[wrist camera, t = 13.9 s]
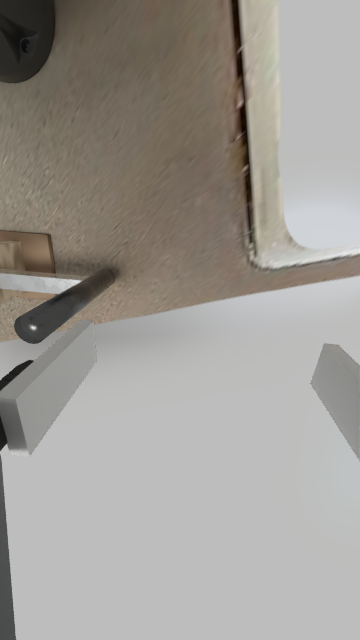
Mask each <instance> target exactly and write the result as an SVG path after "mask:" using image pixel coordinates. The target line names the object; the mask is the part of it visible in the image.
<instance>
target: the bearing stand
mask: <svg viewBox="0 0 360 640" xmlns="http://www.w3.org/2000/svg"><path fill="white" fill-rule="evenodd" d="M0 269H9V270H20V271H31V272H42V273H53V274H55V266H54V259H53V251H52V244H51V236H50V234H38V233H26V232H14V231H2V230H0ZM57 295H58V294H52V293H41V292H31V291H20V290H9V289H0V304H2V303H4V302H6V301H8V300H11V299H13V298H15V297H22V298H32V299H43V300H50V299H51V298H53V297H55V296H57Z"/></svg>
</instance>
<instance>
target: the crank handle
mask: <svg viewBox="0 0 360 640" xmlns="http://www.w3.org/2000/svg"><path fill="white" fill-rule="evenodd" d="M114 281H115V276H114V274H113V272H112V271H110V270H109V269H102V270H100V271H98V272H97V273H95V274H93V275H91V276H90V277H86V276H75V275H64V274H53V273H42V272H31V271H20V270H9V269H0V289H9V290H20V291H31V292H41V293H52V294H58V295H57V296H55V297H53V298H51V299H50V300H48V301H46V302H44V303H43V304H41V305H39V306H37V307H36V308H34V309H32V310H30V311H29V312H27V313H25V314H23V315H22V316H20V317H18V318H17V319H16V321H15V324H14V328H15V331H16V333H17V335H18V336H19V337H20V338H21V339H22V340H24V341H26V342H28V343H32V344H36V343H39V342H41V341H42V340H44V339H45V338H46V337H47V336H49V335H50V334H51V333H52V332H54V331H55V330H56V329H57V328H59V327H60V326H61V325H62V324H64V323H65V322H66V321H67V320H69V319H70V318H71V317H72V316H74V315H75V314H76V313H77V312H78V311H80V310H81V309H82V308H83V307H85V306H86V305H87V304H88V303H90V302H91V301H92V300H93V299H95V298H96V297H97V296H98V295H100V294H101V293H102V292H103V291H105V290H106V289H107V288H108V287H110V286H111V285H112V284H113V283H114Z"/></svg>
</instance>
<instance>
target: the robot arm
mask: <svg viewBox="0 0 360 640" xmlns="http://www.w3.org/2000/svg"><path fill="white" fill-rule="evenodd" d="M53 34H54V8H53V1H52V0H0V81H2V82H8V83H15V82H21V81H24V80H26V79H28V78H30V77H31V76H33V75H34V74H35V73H36V72H37V71H38V70H39V69H40V68H41V67H42V65H43V64H44V62H45V60H46V58H47V56H48V54H49V51H50V48H51V45H52V40H53ZM95 363H96V346H95V333H94V321H89V320H80V321H79V322H78V323H76V324H75V325H74V326H73V327H72V328H71V329H70V330H69V331H67V332H66V333H65V334H64V335H63V336H62V337H61V338H60V339H59V340H57V341H56V342H55V343H54V344H53V345H52V346H51V347H49V348H48V349H47V350H46V351H45V352H44V353H43V354H42V355H40V356H39V357H38V358H37V359H36V360H35V361H33V360H28V361H26V362H24V363H22V364H20V365H18V366H16V367H15V368H14V369H13V370H12V371H10V372H9V374H7V375H6V376H4V377H3V378H2V380H0V451H1V449H2V448H3V447H4V446H5V445H6V444H7V445H8V448H9V451H10V454H14V455H23V456H30V455H31V454H32V452H33V451H34V449H35V448H36V447H37V445H38V444H39V442H40V441H41V440H42V438H43V437H44V435H45V434H46V432H47V431H48V429H49V428H50V427H51V425H52V424H53V422H54V421H55V420H56V418H57V417H58V415H59V414H60V412H61V411H62V410H63V408H64V407H65V405H66V404H67V403H68V401H69V400H70V398H71V397H72V395H73V394H74V393H75V391H76V390H77V388H78V387H79V385H80V384H81V383H82V381H83V380H84V378H85V377H86V375H87V374H88V373H89V371H90V370H91V368H92V367H93V366H94V364H95ZM311 385H312V387H313V389H314V390H315V391H316V393H317V395H318V396H319V398H320V399H321V401H322V403H323V404H324V406H325V407H326V409H327V410H328V412H329V414H330V415H331V417H332V418H333V420H334V421H335V423H336V425H337V426H338V428H339V429H340V431H341V432H342V434H343V436H344V437H345V439H346V440H347V442H348V443H349V445H350V447H351V448H352V450H353V451H354V453H355V454H356V456H357V457H358V459H359V461H360V365H359V364H358V363H356V362H355V361H354V360H353V359H352V358H351V357H350V356H349V355H348V354H347V353H346V352H345V351H344V350H343V349H342V348H341V347H340V346H339V345H334V344H324V346H323V349H322V351H321V354H320V357H319V360H318V363H317V366H316V369H315V372H314V375H313V378H312V380H311ZM4 500H5V499H4V487H3V474H2V462H1V456H0V640H16V636H15V624H14V611H13V599H12V587H11V574H10V563H9V562H10V561H9V549H8V537H7V524H6V512H5V501H4Z"/></svg>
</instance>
